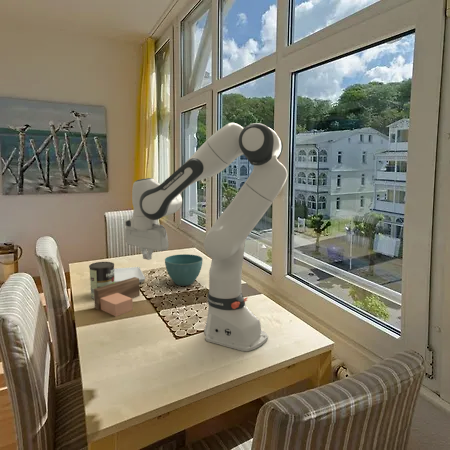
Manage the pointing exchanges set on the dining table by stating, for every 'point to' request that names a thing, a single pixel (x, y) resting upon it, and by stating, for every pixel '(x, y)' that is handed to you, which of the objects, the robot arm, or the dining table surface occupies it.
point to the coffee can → (101, 275)
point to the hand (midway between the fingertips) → (147, 259)
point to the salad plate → (128, 274)
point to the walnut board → (117, 290)
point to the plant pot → (183, 268)
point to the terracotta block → (116, 304)
